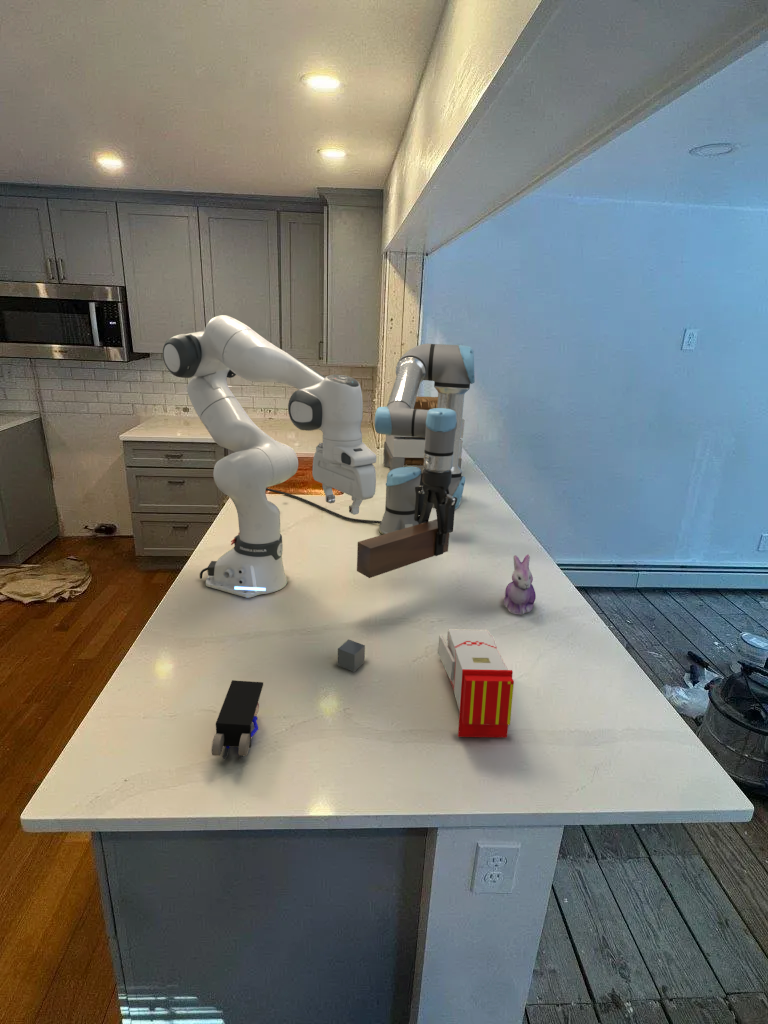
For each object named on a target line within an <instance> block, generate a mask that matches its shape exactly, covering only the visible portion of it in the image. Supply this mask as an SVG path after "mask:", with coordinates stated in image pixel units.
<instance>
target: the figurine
mask: <svg viewBox="0 0 768 1024" xmlns="http://www.w3.org/2000/svg"><path fill="white" fill-rule="evenodd" d="M530 560H531V556H530V554H529V553H528V554H526V555H525V556H524V557H523V560H522V561H521V560H520V558H519V557H518V555H513V572H512V574H511V581H510V582H509V583H508V584H507V585H506V587H505V591H504V599H503V604H504V607H505V608H506V609H507V610H508V612H509V613H511V614H514V615H524V614H527V613H531V611H532V610H533V608H534V606H535V605H534V604H535V602H536V597H537V596H536V590H535V588H534V585H533V581H534V577H533V574H532V572H531V569H530V562H531V561H530Z"/></svg>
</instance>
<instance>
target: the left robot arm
mask: <svg viewBox="0 0 768 1024" xmlns="http://www.w3.org/2000/svg"><path fill="white" fill-rule="evenodd" d="M162 359H163V362H164V365H165V367H166V369H167V370H168V371H169V372H170V374H171V375H173V376H174V377H176V378H181V379H190V380H189V381H188V383H187V385H186V393H187V395H188V398H189V400H190V403H191V405H192V407H193V409H194V411H195V412H196V414H197V416H198V418H199V419H200V421H201V423H202V424H203V426H204V427H205V429H206V430H207V433H209V435H210V436H211V438H212V440H213V441H214V442H215V444H217V445H218V446H219V447H222V448H223V449H227V450H230V451H231V452H232V453H230V454H228V455H226V456H224V457H222V458H220V459H219V460H217V461H216V462H215V464H214V467H213V473H212V474H213V475H212V477H213V481H214V484H215V487H217V489H218V490H219V491H220V492H221V493H222V494H223V495H226V496H227V497H229V499H230V500H231V501H232V502H233V504H234V507H235V510H236V513H237V520H238V533H237V535H236V536H234V537H233V539H232V540H231V541H230V546H233V545H234V546H233V547H232V548H231V549H229V550H228V551H226V552H225V553H224V554H222V555H221V556H220V557H219V558H218V559H217V560H211V561H210V562H209V564H208V566H207V567H205V568H203V569H201V571H200V573H199V580H202V579H203V574H204V573H205V572H207V577H206V579H205V586H206V587H208V588H212V589H215V590H218V591H221V592H224V593H225V592H226V593H228V594H232V595H235V596H239V597H242V598H246V599H250V598H253V597H256V596H259V595H267V594H271V593H275V592H277V591H279V590H282V589H284V588H285V587H286V585H287V583H288V578H287V575H286V572H285V567H284V562H283V550H284V549H283V548H284V546H283V545H284V544H283V535H282V534H281V511H280V508H279V507H278V506H277V505H276V504H275V503H273V502H271V501H269V500H268V498H267V493H266V488H271V487H274V486H277V485H280V484H283V483H285V482H286V481H287V480H289V479H290V478H292V477H293V476H295V475H296V474H297V472H298V469H299V460H298V459H299V457H298V455H297V453H296V451H295V449H294V448H292V447H291V445H288V444H285V443H282V442H280V441H278V440H276V439H274V438H273V437H271V436H270V435H269V434H268V433H266V432H265V431H264V430H262V428H260V427H259V426H258V425H257V424H256V423H255V422H254V421H253V420H252V419H251V417H250V416H249V414H248V413H247V412H246V410H245V409H244V407H243V406H242V405H241V403H240V402H239V400H238V398H237V397H236V396H235V394H234V393H233V392H232V390H231V389H230V387H229V385H228V381H227V379H231V378H234V377H235V376H237V377H240V378H241V379H244V380H246V381H249V382H255V383H275V384H282V385H288V386H290V387H293V388H295V389H297V390H295V391H294V392H293V393H292V394H291V396H290V397H289V399H288V404H287V412H288V413H287V414H288V417H289V420H290V421H291V423H292V424H293V426H294V427H296V428H297V429H298V430H300V431H307V432H311V431H312V432H313V431H316V430H319V431H321V433H322V442H319V443H318V444H317V446H315V452H314V454H313V459H312V471H311V472H312V473H311V474H312V478H313V480H314V481H315V482H318V483H320V484H322V490H323V494H324V495H325V502H326V503H327V504H328V503H329V504H334V503H335V502H336V495H335V494H334V491H333V489H334V490H336V491H338V492H341V493H344V494H345V495H347V496H350V497H351V501H352V503H351V505H349V506H348V513H350V514H351V515H358V514H359V513H360V506H361V505H362V503H363V501H365V500H369V499H372V498H374V496H375V495H376V487H377V486H376V485H377V473H376V468H375V466H374V464H376V463H377V455H376V453H375V452H374V451H373V450H371V449H370V447H368V446H367V444H365V442H363V433H362V427H361V426H362V421H363V417H364V416H363V415H364V412H363V411H364V403H363V402H364V401H363V400H364V399H363V391H362V388H361V384H360V382H359V380H357V379H356V378H354V377H352V376H349V375H343V374H337V373H336V374H335V373H334V374H329V375H327V376H325V375H324V374H322V373H321V372H319V371H317V370H316V369H314V368H313V367H312V366H310V365H308V364H307V363H305V362H303V361H302V360H300V359H298V358H297V357H295V356H293V355H292V354H290V353H288V352H286V351H285V350H283V349H281V348H279V347H278V346H276V345H274V343H272V342H270V340H267V339H266V338H265V337H263V336H262V335H260V334H259V333H258V332H257V331H255V330H254V329H252V328H251V327H250V326H248V325H247V324H246V323H244V322H241V321H240V320H238V319H236V318H234V317H232V316H230V315H226V314H220V315H216V316H214V317H212V318H211V319H210V320H209V321H208V322H207V323H206V325H205V328H204V330H199V331H194V332H189V333H179V334H176V335H174V336H171V337H169V338H168V339H166V341H164V345H163V347H162Z"/></svg>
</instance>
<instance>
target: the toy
mask: <svg viewBox="0 0 768 1024" xmlns="http://www.w3.org/2000/svg"><path fill="white" fill-rule="evenodd" d="M446 640H447V643H446V641H445V639H444V636H443V635H442V634H439V637H438V646H437V656H438V657H439V659H440V661H441V663H442V666H443V668H444V670H445V672H446V674H447V677H448V679H449V681H450V684H451V687H452V690H453V693H454V697H455V701H456V705H457V708H458V711H459V714H458V715H459V716H458V730H457V731H458V732H457V737H458V738H508V731H509V726H510V725H511V717H512V707H513V697H514V696H513V695H514V684H515V680H514V679H513V673H514V671H513V670H512V669H508V667H507V665H506V662H505V661H504V659H503V658H502V655H501V653H500V651H499V649H498V647H497V643H496V639H495V637H494V635H493V634H491V632H490V631H489V629H467V628H466V629H465V628H463V629H461V628H460V629H459V628H448V630H447V639H446Z"/></svg>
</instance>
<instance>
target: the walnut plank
mask: <svg viewBox="0 0 768 1024" xmlns="http://www.w3.org/2000/svg"><path fill="white" fill-rule="evenodd" d="M428 521H429V522H425V523H422V524H418V525H415V526H411V527H408V528H404V529H401V530H397V531H394V532H390V533H387V534H383V535H381V534H380V535H377V536H374V537H370V538H367V539H363V540H359V541H357V551H356V552H357V553H356V554H357V555H356V572H358V573H360V574H361V575H363V576H364V577H366V578H368V579H371V578H375V577H377V576H380V575H383V574H386V573H390V572H392V571H395V570H398V569H400V568H403V567H407V566H409V565H412V564H415V563H418V562H421V561H423V560H426V559H430V558H433V557H436V556H435V555H434V552H435V539H436V532H438V524H437V518H436V519H432V520H428ZM449 542H450V533H447V534H446V543H445V544H444V549H443V554H444V553H447V552H449V544H450V543H449Z"/></svg>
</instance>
